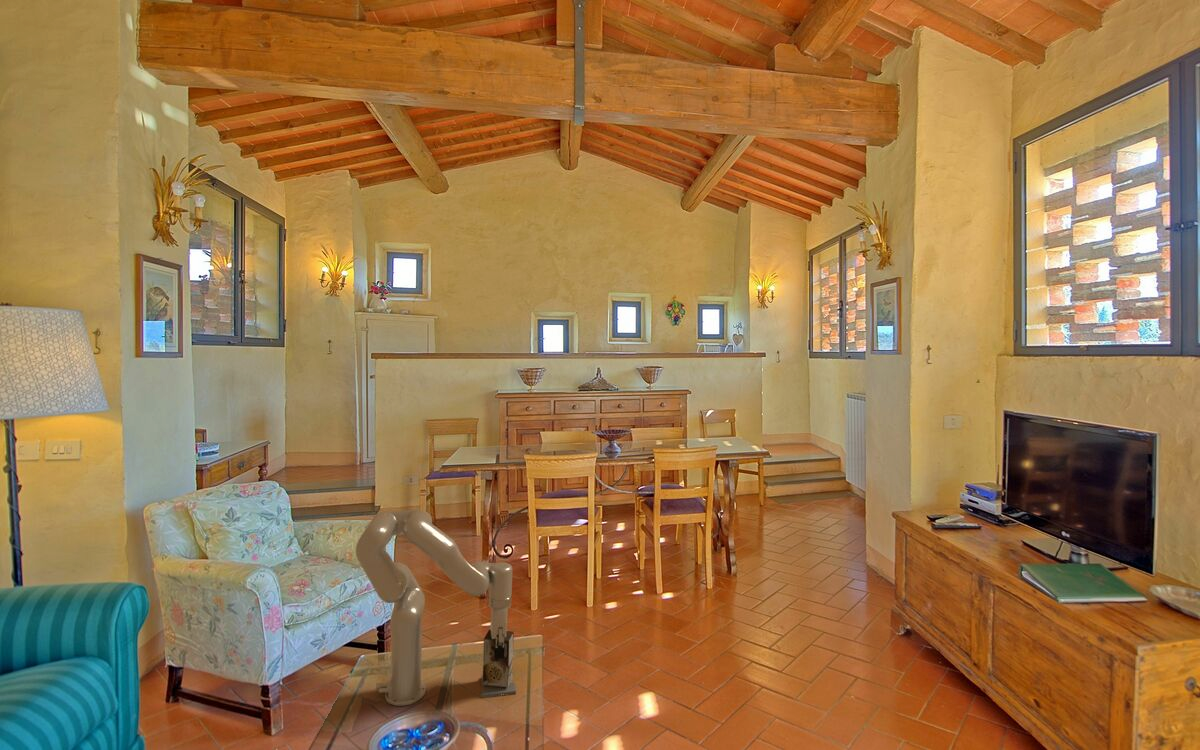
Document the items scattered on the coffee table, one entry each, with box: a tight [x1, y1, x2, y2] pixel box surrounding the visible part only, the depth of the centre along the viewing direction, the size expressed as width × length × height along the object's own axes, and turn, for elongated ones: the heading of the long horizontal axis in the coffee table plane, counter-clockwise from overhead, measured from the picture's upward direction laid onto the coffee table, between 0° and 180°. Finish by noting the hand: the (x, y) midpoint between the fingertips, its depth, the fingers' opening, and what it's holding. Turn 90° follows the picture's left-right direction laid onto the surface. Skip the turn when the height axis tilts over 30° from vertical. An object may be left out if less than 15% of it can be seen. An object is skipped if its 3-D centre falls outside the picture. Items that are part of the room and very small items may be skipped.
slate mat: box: [480, 674, 517, 699], centre depth 186 cm, size 11×11×1 cm
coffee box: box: [482, 629, 515, 687], centre depth 186 cm, size 9×6×16 cm
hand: (498, 650), depth 186 cm, fingers closed on coffee box, 7 cm apart
